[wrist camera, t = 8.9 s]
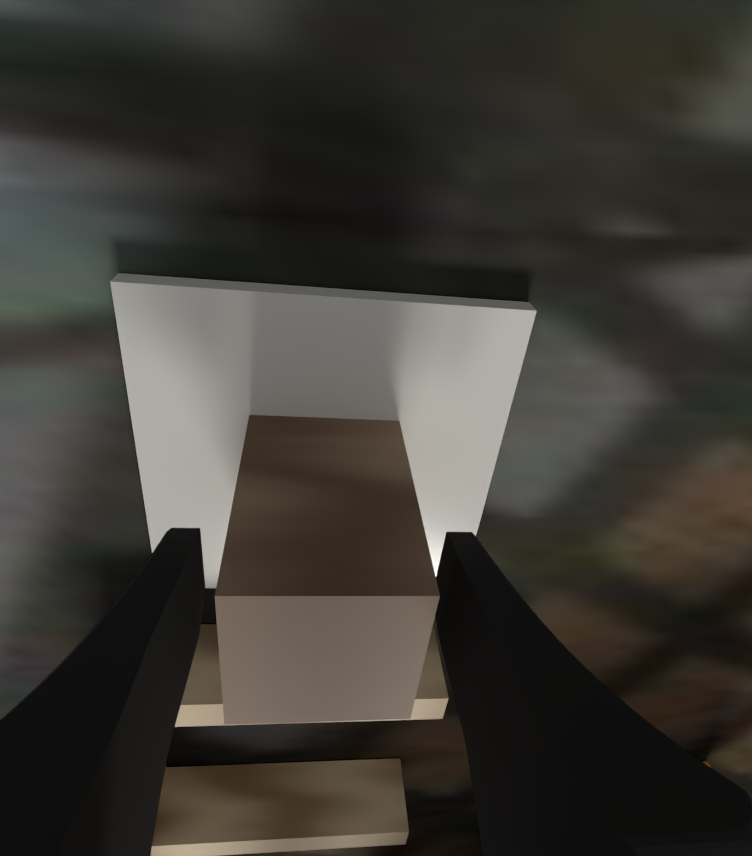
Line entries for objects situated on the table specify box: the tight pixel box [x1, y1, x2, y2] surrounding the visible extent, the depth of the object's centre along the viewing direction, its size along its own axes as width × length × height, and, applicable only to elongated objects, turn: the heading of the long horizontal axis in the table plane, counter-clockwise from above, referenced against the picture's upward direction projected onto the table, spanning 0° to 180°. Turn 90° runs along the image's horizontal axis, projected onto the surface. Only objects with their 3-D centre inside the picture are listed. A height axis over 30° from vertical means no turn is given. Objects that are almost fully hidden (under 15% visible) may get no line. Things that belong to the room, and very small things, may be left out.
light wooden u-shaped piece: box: [150, 624, 449, 856], centre depth 22 cm, size 12×11×3 cm
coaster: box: [110, 273, 536, 588], centre depth 16 cm, size 10×10×1 cm
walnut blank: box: [215, 415, 440, 724], centre depth 14 cm, size 4×4×6 cm
